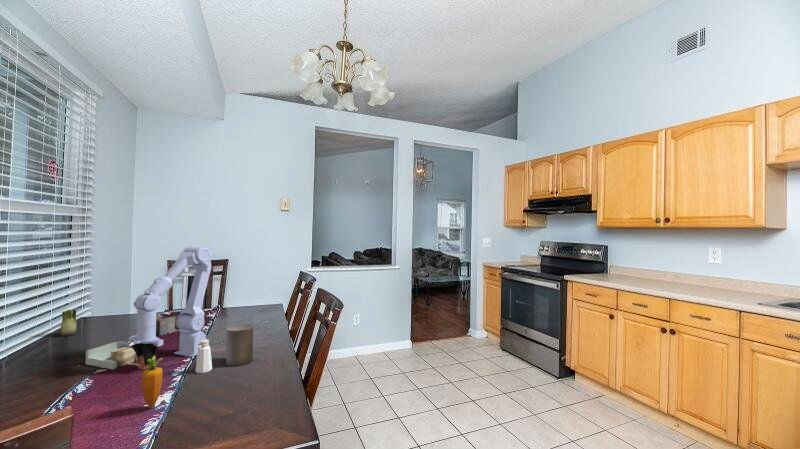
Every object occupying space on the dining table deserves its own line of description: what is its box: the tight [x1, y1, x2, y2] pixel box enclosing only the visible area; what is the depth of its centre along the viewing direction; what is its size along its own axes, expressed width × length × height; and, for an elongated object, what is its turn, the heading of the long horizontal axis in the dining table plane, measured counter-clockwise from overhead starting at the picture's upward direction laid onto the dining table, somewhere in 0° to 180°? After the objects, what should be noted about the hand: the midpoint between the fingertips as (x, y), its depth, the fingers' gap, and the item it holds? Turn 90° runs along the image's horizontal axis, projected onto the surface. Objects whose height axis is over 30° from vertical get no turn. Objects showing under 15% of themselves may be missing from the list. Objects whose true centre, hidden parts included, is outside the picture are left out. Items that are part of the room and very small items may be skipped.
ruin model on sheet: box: [156, 315, 180, 337], centre depth 164 cm, size 11×3×10 cm, turn 150°
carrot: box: [141, 355, 164, 409], centre depth 98 cm, size 5×5×15 cm
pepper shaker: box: [194, 338, 213, 374], centre depth 124 cm, size 5×5×11 cm
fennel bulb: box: [59, 308, 77, 337], centre depth 158 cm, size 6×5×12 cm
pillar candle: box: [225, 322, 254, 367], centre depth 133 cm, size 10×10×15 cm
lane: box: [85, 341, 138, 370], centre depth 130 cm, size 14×10×5 cm
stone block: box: [84, 340, 131, 356], centre depth 138 cm, size 12×5×10 cm
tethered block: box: [110, 347, 150, 370], centre depth 127 cm, size 16×5×5 cm, turn 74°
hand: (145, 363), depth 125 cm, fingers closed on tethered block, 2 cm apart
